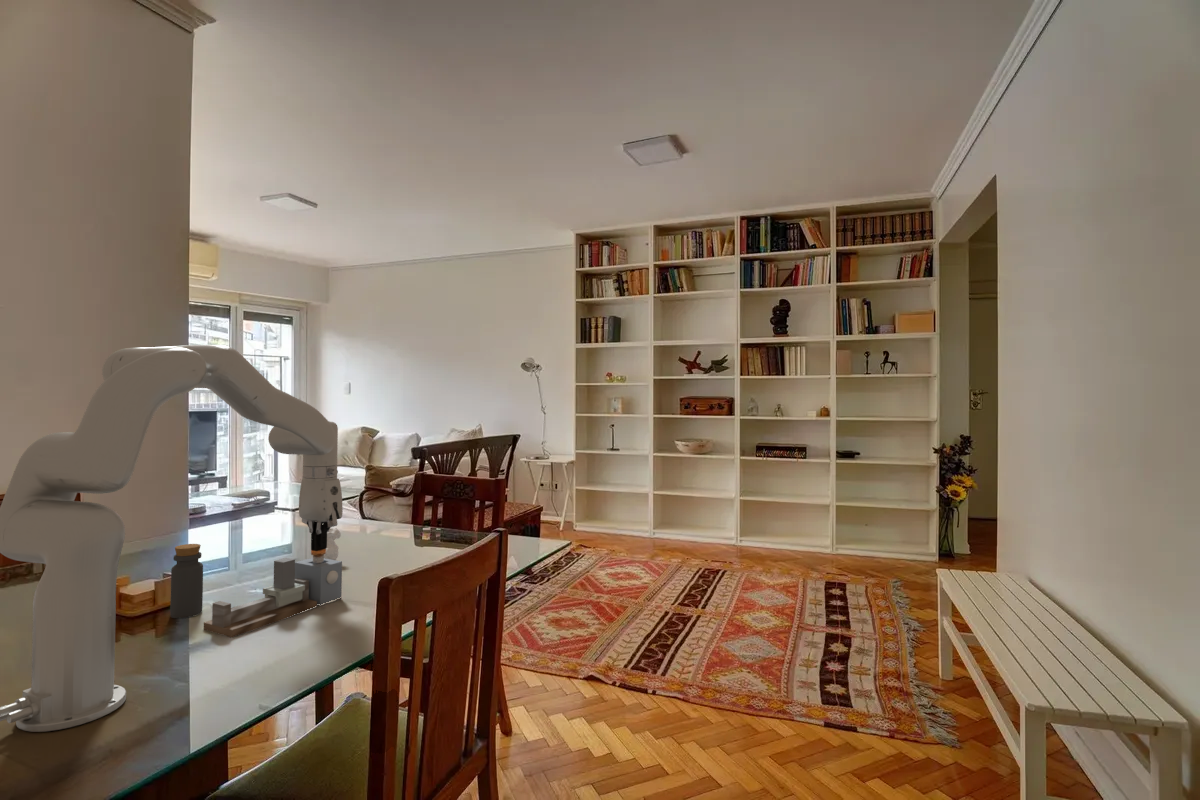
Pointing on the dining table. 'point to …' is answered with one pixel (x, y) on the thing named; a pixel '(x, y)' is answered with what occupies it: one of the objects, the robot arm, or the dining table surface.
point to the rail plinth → (261, 619)
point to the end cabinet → (321, 579)
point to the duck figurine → (332, 544)
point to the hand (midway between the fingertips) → (318, 549)
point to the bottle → (186, 582)
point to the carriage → (284, 583)
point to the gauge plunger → (318, 556)
